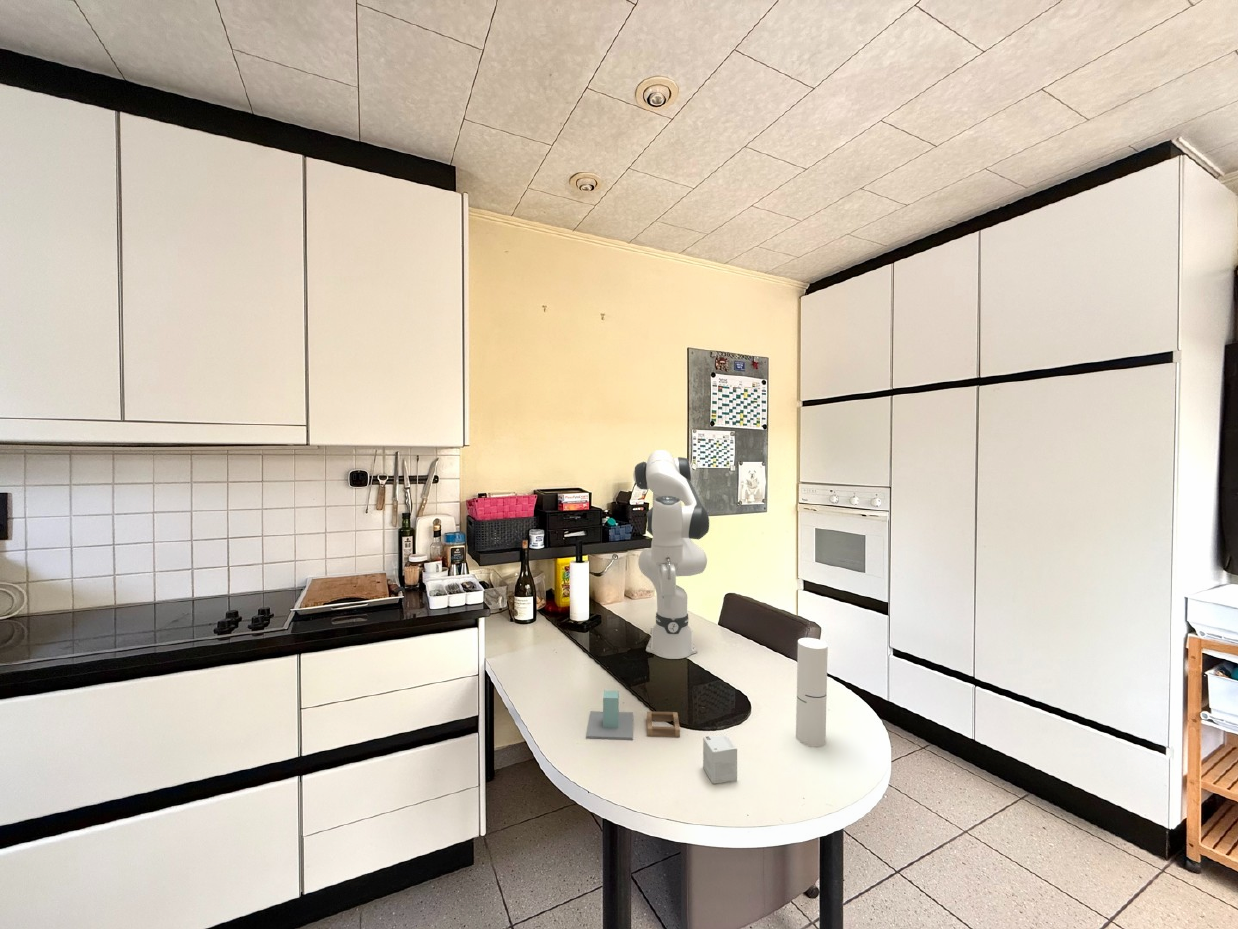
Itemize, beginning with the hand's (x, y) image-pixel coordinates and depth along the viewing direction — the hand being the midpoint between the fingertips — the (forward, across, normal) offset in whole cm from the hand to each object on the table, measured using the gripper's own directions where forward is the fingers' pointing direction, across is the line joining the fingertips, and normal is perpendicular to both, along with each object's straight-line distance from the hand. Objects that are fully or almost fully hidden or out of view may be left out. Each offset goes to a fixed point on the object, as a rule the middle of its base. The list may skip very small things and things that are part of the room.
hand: (666, 603), depth 137 cm
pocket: (+31, -8, +1) cm, 32 cm away
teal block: (+30, -8, +15) cm, 35 cm away
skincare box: (+31, -26, -11) cm, 42 cm away
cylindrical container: (+31, -11, -37) cm, 50 cm away
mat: (+31, -8, +15) cm, 35 cm away
